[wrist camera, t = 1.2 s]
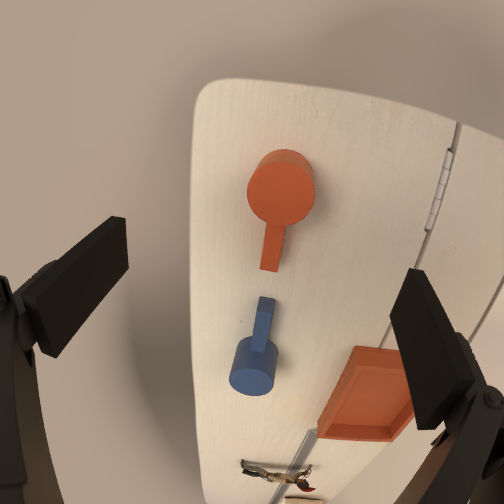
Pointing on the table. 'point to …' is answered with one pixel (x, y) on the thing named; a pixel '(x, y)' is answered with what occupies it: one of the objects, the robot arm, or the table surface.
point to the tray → (368, 399)
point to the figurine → (279, 476)
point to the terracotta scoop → (280, 198)
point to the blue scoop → (256, 355)
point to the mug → (300, 501)
